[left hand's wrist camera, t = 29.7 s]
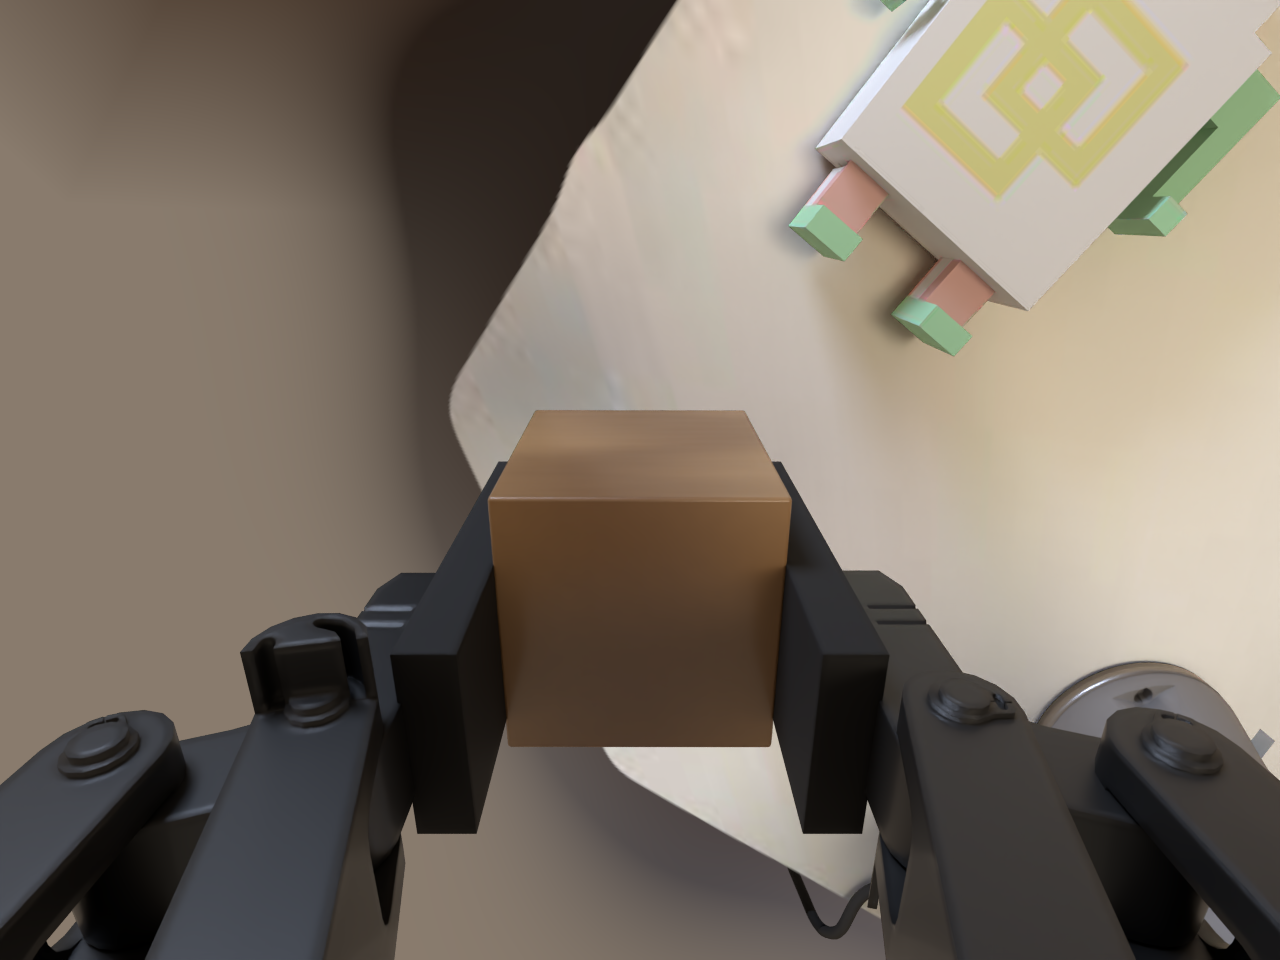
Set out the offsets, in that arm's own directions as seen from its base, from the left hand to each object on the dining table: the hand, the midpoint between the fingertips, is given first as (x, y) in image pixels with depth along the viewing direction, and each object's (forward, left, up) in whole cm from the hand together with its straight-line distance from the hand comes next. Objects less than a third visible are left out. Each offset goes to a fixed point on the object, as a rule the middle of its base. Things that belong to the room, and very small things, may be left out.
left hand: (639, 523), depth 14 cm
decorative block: (+21, -12, -32) cm, 41 cm away
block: (0, 0, 0) cm, 0 cm away
